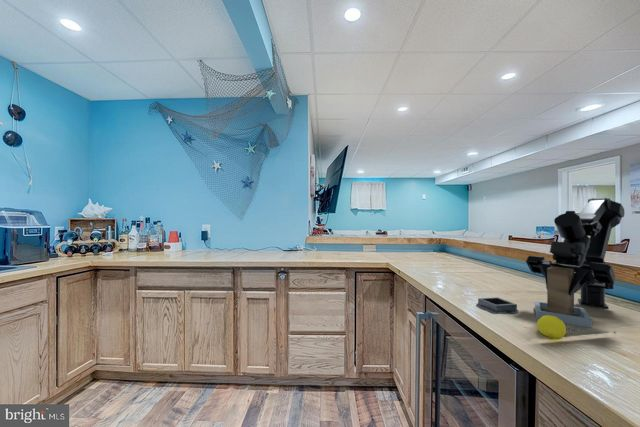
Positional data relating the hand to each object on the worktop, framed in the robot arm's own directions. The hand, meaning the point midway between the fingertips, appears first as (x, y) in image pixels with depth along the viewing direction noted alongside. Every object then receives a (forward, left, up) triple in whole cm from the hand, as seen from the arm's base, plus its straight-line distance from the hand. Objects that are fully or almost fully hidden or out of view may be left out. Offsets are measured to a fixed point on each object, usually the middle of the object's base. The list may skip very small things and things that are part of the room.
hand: (558, 292), depth 77 cm
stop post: (-1, +1, -6) cm, 6 cm away
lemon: (+15, -3, -8) cm, 17 cm away
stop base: (+1, -14, -8) cm, 17 cm away
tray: (-1, +1, -8) cm, 8 cm away
